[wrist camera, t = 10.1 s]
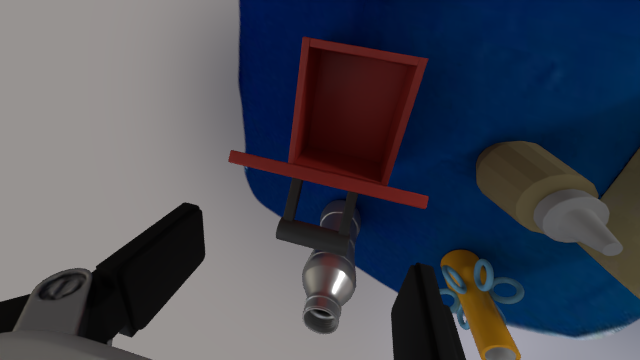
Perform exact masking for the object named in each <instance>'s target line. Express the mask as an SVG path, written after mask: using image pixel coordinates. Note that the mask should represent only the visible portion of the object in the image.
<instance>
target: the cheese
mask: <svg viewBox="0 0 640 360" xmlns="http://www.w3.org/2000/svg"><path fill="white" fill-rule="evenodd" d="M600 201H601V202H603V203H604V204H606V206H607V208H608V210H609V213H610V214H609V219H608V223H607V224H606V225H605V226H606V227H607V228H608V229H609V231H610V232H611V233H612V234H613V235H614V236H615V238H616V239H617V240H618V241H619V242H620V244H621V245H622V246H623V250H622V252H621V253H619V254H617V255H614V256H607V255H604V254H602V253H601V252H599V251H597V250H595V249H593V248H591V247H589V246H587V245H585V244H583V243H581V242H580V241H579V242H576V243H578V244H579V245H580V246H581V247H582V248H583V249H584V250H585V251H586V252H587V253H588V254H589V255H591V256H592V257H593V258H594V259H595V260H596V261H597V262H598V263H599V264H600V265H601V266H603V267H604V268H605V269H606V270H607V271H608V272H609V273H610V274H611V275H613V276H614V277H615V278H616V279H617V280H618V281H619V282H620V283H622V284H623V285H624V286H625V287H626V288H627V289H628V290H630V291H631V292H632V293H633V294H634V295H635V296H637V297H638V298H639V299H640V148H639V149H638V150H637V152H636V153H635V154H634V156H633V157H632V159H631V160H630V161H629V163H628V164H627V165H626V167H625V168H624V169H623V171H622V172H621V173H620V175H619V176H618V177H617V178H616V180H615V181H614V182H613V184H612V185H611V186H610V187H609V189H608V190H607V191H606V192H605V194H604V195H603V196H602V197H601V199H600Z"/></svg>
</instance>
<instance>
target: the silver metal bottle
mask: <svg viewBox="0 0 640 360" xmlns="http://www.w3.org/2000/svg"><path fill="white" fill-rule="evenodd" d="M345 202H346V201H344V200H336V201H332V202H331V203H329V204H328V205H327V206H326V207H325V209H324V210H323V212H322V214H321V220H320V226H321V227H325V228H328V229H332V230H336V231H339V227H340V223H341V219H342V215H343V211H344V206H345ZM360 226H361V219H360V214H359V212H358V210H357V208H356V207H355V209H354V214H353V218H352V222H351V226H350V230H349V234H350V241H349V246H348V250H347V254H346V256H345V257H343V256H339V255H335V254H332V253H328V252H324V251H321V250H317V249H314V250H313V252H312V253H311V255H310V257H309V259H308V261H307V263H306V265H305V267H304V270H303V274H302V275H303V276H302V280H303V286H304V289H305V292H306V295H307V298H306V301H305V308H304V311H303V317H302V319H303V322H304V323H305V325H306V326H307V327H308V328H309V329H311V330H312V331H314V332H316V333H320V334H330V333H332V332H334V331H335V330H336V329H337V327H338V323H339V317H340V314H341V306H343V305H344V304H345V303H346V302H347V301H348V300H349V299H350V298H351V297H352V295H353V293H354V291H355V288H356V272H355V262H354V251H355V243H356V238H357V235H358V233H359V230H360Z"/></svg>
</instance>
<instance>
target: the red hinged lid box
mask: <svg viewBox="0 0 640 360" xmlns="http://www.w3.org/2000/svg"><path fill="white" fill-rule="evenodd" d="M427 61H428V59H426V58H421V57H420V58H419V57H415V56H409V55H404V54H398V53H393V52H387V51H381V50H376V49H370V48H365V47H359V46H354V45H348V44H342V43H337V42H331V41H326V40H320V39H314V38H309V37H303V41H302V49H301V58H300V66H299V75H298V83H297V92H296V100H295V109H294V118H293V126H292V135H291V143H290V152H289V160H288V163H289V164H293V165H298V166H302V167H306V168H311V169H315V170H319V171H323V172H328V173H332V174H336V175H340V176H345V177H349V178H353V179H357V180H362V181H366V182H370V183H374V184H379V185H383V186H387V184H388V181H389V178H390V175H391V172H392V169H393V166H394V163H395V160H396V157H397V153H398V150H399V147H400V144H401V141H402V138H403V135H404V132H405V129H406V126H407V123H408V120H409V117H410V113H411V110H412V107H413V104H414V101H415V98H416V95H417V92H418V89H419V86H420V83H421V80H422V77H423V73H424V70H425V67H426V64H427Z"/></svg>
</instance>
